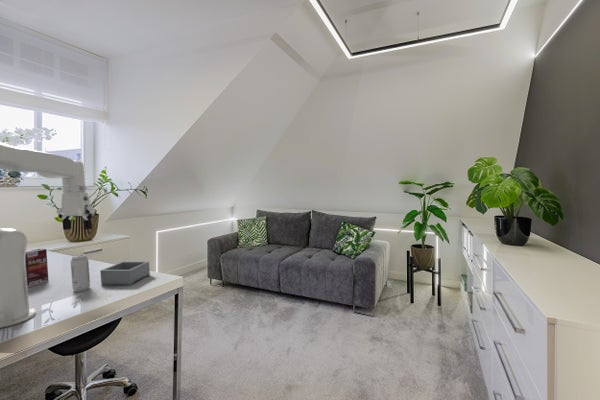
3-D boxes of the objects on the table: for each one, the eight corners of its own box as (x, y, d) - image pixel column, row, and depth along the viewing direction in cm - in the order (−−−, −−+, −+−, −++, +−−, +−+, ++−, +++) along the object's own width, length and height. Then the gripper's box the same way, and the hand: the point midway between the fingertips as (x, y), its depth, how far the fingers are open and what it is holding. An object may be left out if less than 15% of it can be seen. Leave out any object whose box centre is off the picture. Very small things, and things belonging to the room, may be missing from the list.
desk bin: (130, 285, 125) (129, 270, 124) (101, 285, 126) (100, 270, 126) (149, 275, 139) (148, 261, 138) (123, 275, 140) (122, 261, 140)
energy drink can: (71, 290, 121) (68, 256, 120) (88, 286, 126) (86, 253, 125) (74, 293, 117) (71, 258, 116) (91, 289, 122) (89, 255, 121)
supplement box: (29, 287, 125) (26, 253, 124) (20, 287, 126) (17, 252, 125) (49, 281, 134) (47, 248, 133) (41, 280, 135) (39, 248, 134)
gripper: (100, 189, 122) (103, 227, 123) (64, 189, 123) (67, 227, 125) (85, 189, 114) (88, 230, 116) (47, 190, 116) (50, 231, 117)
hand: (77, 229), depth 120 cm, fingers open, 9 cm apart
